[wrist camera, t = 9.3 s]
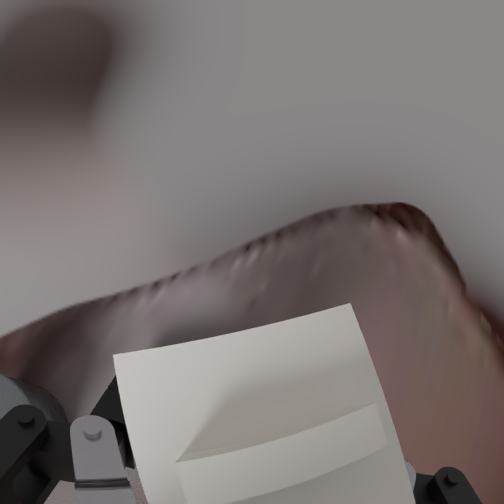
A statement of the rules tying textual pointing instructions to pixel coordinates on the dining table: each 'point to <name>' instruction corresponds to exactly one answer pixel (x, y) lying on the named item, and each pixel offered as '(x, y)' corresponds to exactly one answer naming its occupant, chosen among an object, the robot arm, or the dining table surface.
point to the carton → (264, 417)
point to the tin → (29, 398)
